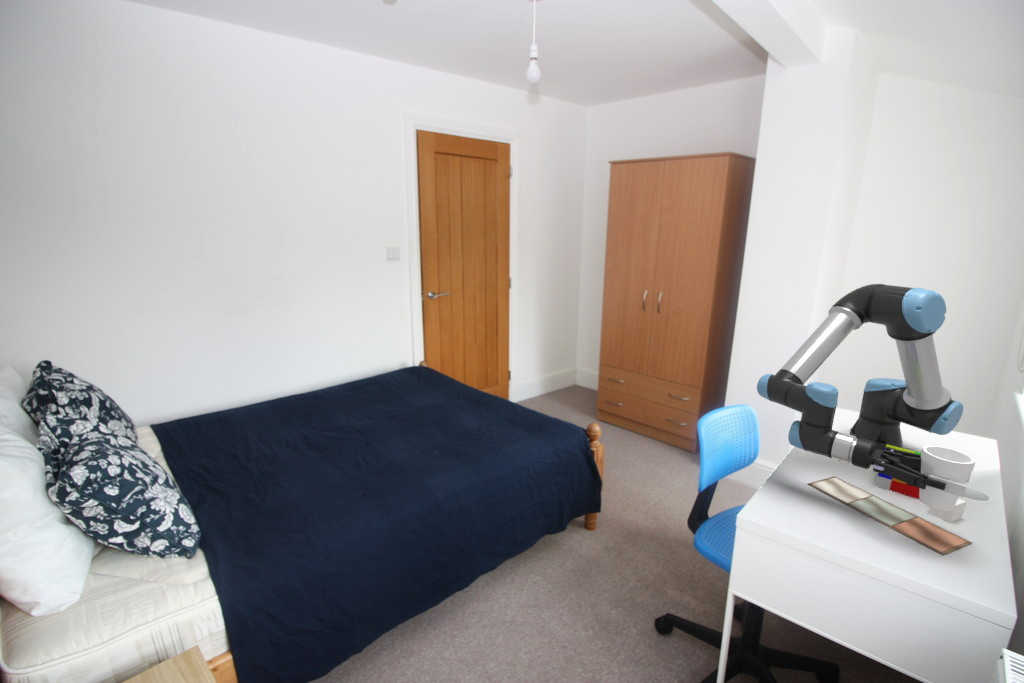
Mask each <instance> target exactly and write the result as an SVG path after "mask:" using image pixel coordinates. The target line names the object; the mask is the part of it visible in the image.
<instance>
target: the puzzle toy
mask: <svg viewBox="0 0 1024 683" xmlns="http://www.w3.org/2000/svg"><path fill="white" fill-rule="evenodd" d="M886 447H890V448H893V449H897V450H901V451H906V452H911V453H915V454H920V455H921V453H922V452H918V451H914V450H912V449H907V448H900V447H896V446H892V445H888V444H887V445H886ZM885 449H886V448H885ZM910 468H912V469H914V470H916V471H918V472H920V473H921V469H920V468H913V467H910ZM877 486H878V488H881V489H883V490H887V489H888V491H890V490H892V491H891V492H894V491H895V492H894V493H897V492H898V493H897V494H900V493H901V494H900V495H903V494H904V495H903V496H907V497H911V498H914V499H916V500H917V499H918V500H920V499H919V491H920V488H918V487H915V486H913V485H910V484H908V483H905V482H903V481H900V480H898V479H895V478H892V477H890V476H887V475H885V474H882V473H878V472H877V478H876V482H875V487H877Z"/></svg>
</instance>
